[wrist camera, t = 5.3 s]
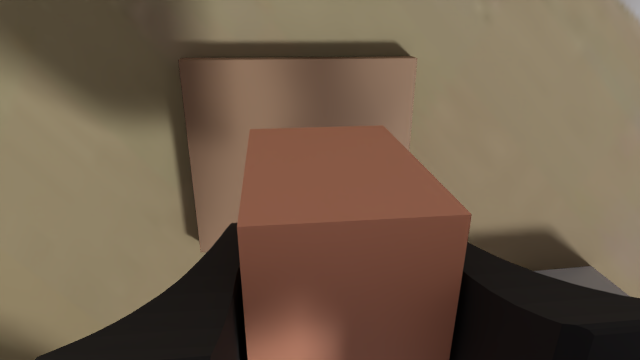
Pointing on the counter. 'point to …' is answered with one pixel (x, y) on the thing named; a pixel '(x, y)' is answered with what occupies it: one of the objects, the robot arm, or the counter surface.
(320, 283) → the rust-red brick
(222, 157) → the walnut board
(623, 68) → the counter surface
